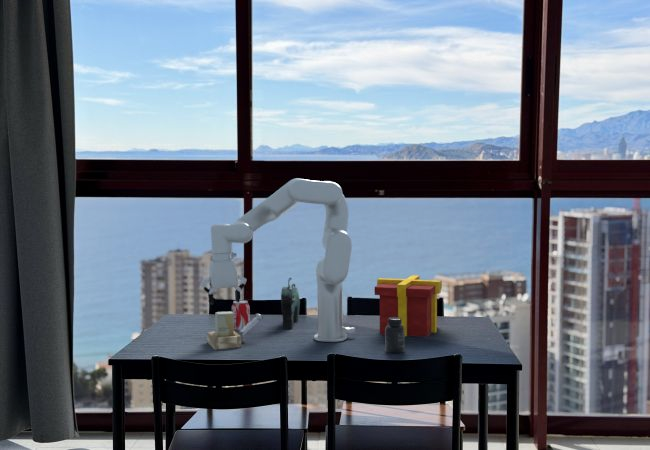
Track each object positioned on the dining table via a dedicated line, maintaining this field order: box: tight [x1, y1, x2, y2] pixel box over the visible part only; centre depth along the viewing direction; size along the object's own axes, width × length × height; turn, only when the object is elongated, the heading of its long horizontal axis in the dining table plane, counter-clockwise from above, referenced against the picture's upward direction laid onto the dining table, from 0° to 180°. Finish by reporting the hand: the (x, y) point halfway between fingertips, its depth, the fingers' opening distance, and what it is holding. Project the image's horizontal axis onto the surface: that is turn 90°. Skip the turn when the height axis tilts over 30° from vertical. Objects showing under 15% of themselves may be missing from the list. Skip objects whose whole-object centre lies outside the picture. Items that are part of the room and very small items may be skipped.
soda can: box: [231, 299, 251, 331], centre depth 343 cm, size 7×7×12 cm
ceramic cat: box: [280, 277, 301, 330], centre depth 353 cm, size 20×6×20 cm, turn 171°
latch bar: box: [240, 313, 264, 336], centre depth 326 cm, size 11×4×2 cm
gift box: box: [374, 274, 443, 338], centre depth 340 cm, size 25×25×20 cm
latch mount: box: [234, 329, 245, 344], centre depth 325 cm, size 3×6×4 cm, turn 20°
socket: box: [206, 331, 242, 351], centre depth 319 cm, size 10×12×4 cm
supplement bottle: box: [384, 317, 406, 355], centre depth 306 cm, size 7×7×12 cm
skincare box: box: [214, 310, 234, 338], centre depth 319 cm, size 6×4×12 cm
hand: (224, 303), depth 318 cm, fingers open, 9 cm apart
